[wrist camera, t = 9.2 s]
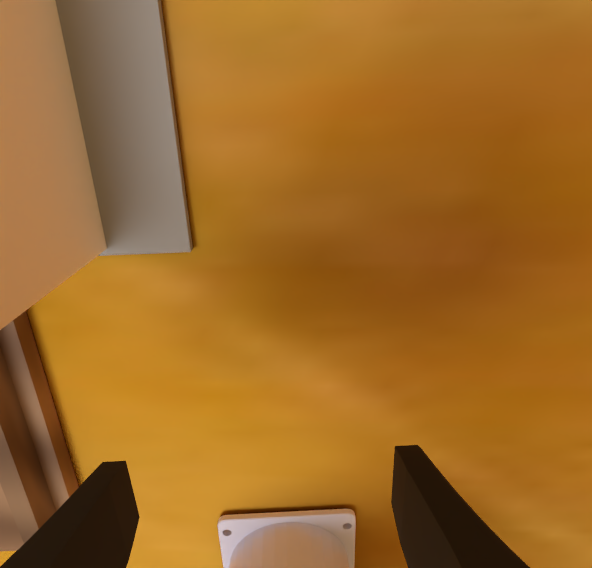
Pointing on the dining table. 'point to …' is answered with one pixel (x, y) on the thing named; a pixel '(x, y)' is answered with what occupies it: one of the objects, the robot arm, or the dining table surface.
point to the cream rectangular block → (40, 162)
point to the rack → (28, 440)
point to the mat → (128, 122)
